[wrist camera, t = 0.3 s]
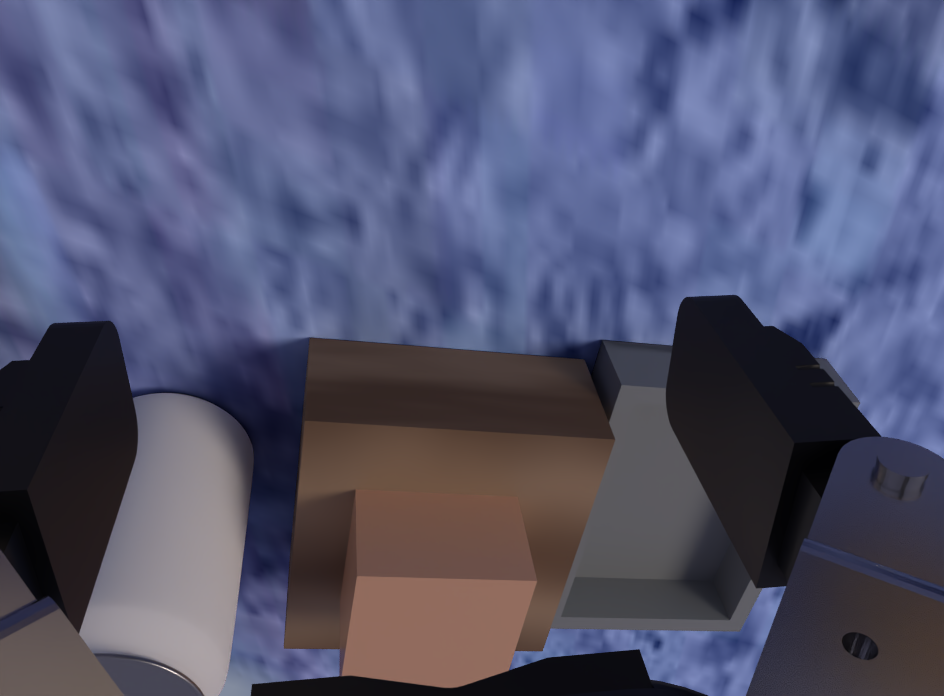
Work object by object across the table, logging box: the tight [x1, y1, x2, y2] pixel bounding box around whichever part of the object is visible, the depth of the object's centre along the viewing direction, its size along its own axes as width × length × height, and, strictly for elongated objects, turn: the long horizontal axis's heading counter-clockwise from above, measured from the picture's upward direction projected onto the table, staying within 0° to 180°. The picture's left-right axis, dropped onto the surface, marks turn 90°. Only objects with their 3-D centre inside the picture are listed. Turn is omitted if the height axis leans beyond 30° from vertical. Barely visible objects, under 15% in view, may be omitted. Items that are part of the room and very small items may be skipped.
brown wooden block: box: [284, 338, 615, 651], centre depth 36 cm, size 12×11×5 cm
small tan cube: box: [340, 489, 537, 688], centre depth 32 cm, size 6×6×4 cm
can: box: [79, 393, 254, 696], centre depth 31 cm, size 6×6×12 cm
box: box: [551, 340, 860, 631], centre depth 39 cm, size 14×10×3 cm
